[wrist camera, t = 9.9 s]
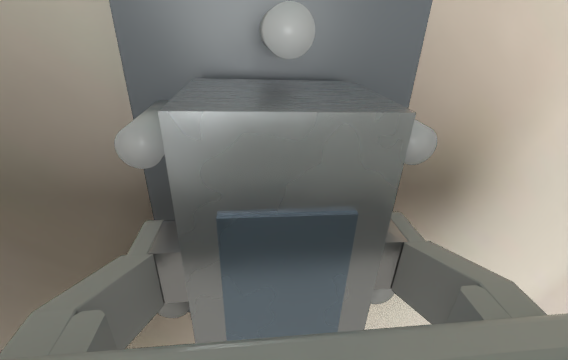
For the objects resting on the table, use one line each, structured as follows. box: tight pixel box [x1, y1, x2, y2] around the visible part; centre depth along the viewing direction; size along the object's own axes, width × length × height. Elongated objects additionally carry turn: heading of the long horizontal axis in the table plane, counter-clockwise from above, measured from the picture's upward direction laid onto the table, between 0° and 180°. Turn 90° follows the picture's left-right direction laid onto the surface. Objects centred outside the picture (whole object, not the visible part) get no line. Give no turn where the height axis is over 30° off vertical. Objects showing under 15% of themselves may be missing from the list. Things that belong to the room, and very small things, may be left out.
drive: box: [158, 78, 416, 343], centre depth 9 cm, size 9×5×4 cm, turn 178°
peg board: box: [109, 0, 437, 318], centre depth 11 cm, size 14×10×4 cm
